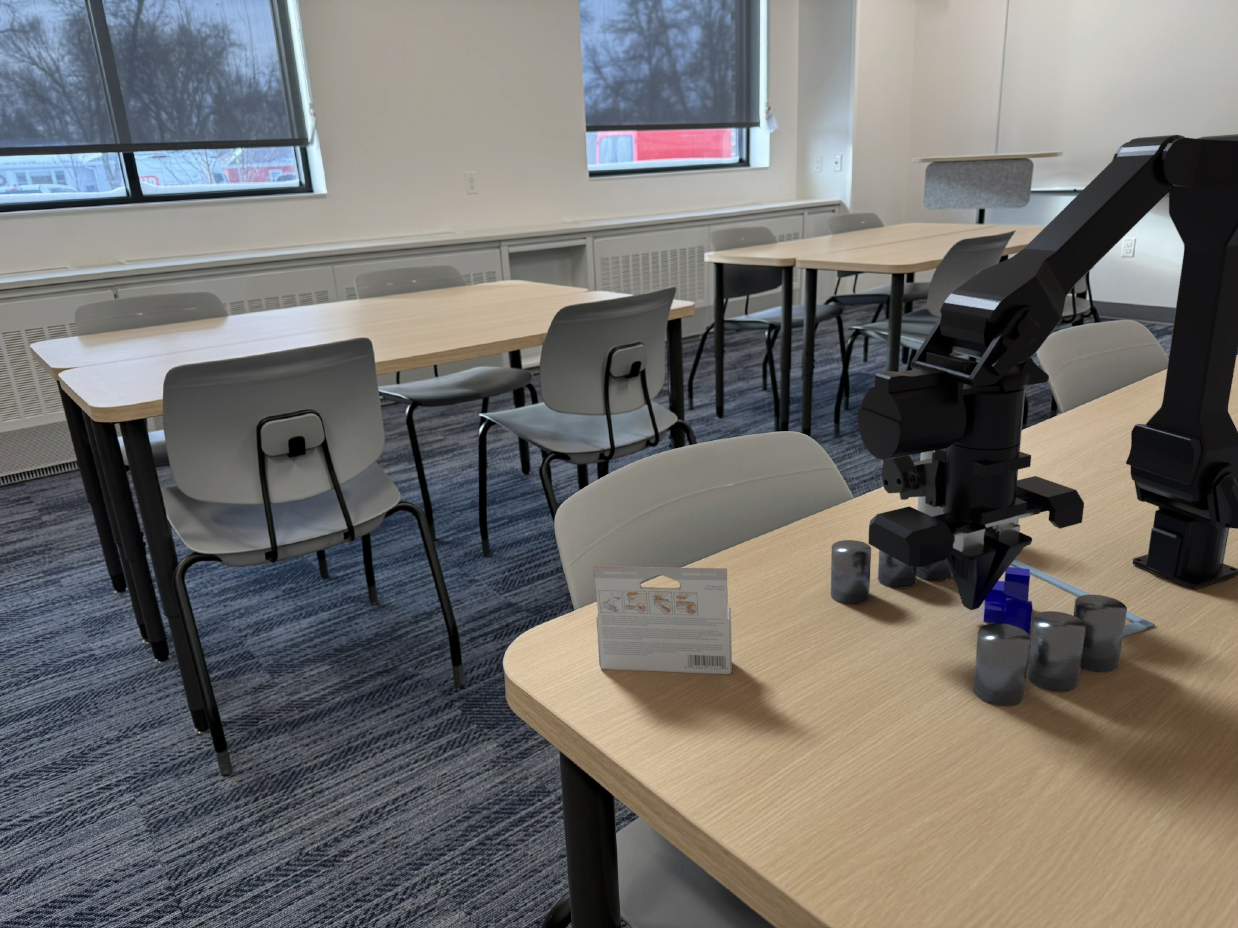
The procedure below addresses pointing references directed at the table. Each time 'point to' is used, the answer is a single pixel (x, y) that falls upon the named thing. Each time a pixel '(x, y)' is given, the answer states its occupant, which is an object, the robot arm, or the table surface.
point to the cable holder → (1010, 600)
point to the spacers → (1003, 629)
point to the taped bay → (1128, 629)
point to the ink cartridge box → (663, 620)
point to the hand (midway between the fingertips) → (970, 607)
